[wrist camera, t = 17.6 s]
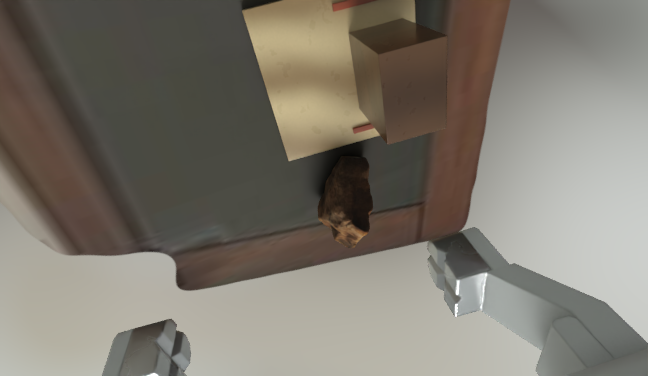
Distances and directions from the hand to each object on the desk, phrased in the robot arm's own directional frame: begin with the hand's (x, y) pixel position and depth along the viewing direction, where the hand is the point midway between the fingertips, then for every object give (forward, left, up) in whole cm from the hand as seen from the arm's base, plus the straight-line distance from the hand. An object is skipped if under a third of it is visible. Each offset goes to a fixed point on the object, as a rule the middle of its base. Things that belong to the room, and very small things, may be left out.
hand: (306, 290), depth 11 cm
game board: (+4, +11, -37) cm, 39 cm away
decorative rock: (+21, +12, -37) cm, 44 cm away
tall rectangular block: (+3, +16, -36) cm, 39 cm away
